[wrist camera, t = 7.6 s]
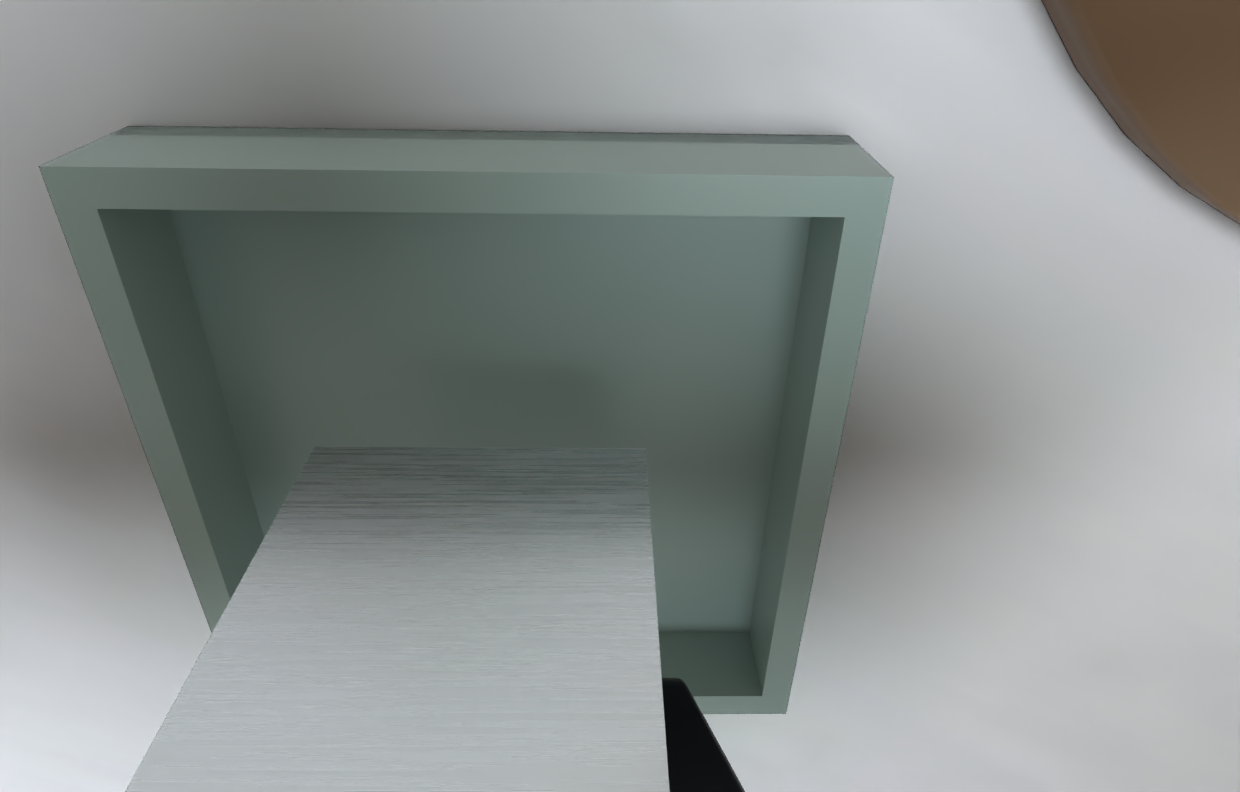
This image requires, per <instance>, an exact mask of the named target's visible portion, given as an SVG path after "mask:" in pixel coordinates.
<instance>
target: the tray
mask: <svg viewBox="0 0 1240 792" xmlns="http://www.w3.org/2000/svg"><path fill="white" fill-rule="evenodd" d="M39 168H40V171H41V174H42V176H43V179H44V182H45V185H46V187H47V190H48V193H49V195H50V198H51V201H52V203H53V206H54V209H55V212H56V214H57V217H58V220H59V222H60V225H61V228H62V230H63V233H64V236H65V239H66V241H67V244H68V247H69V249H70V252H71V255H72V257H73V260H74V263H75V265H76V268H77V271H78V274H79V276H80V279H81V282H82V284H83V287H84V290H85V292H86V295H87V298H88V301H89V303H90V306H91V309H92V311H93V314H94V317H95V319H96V322H97V325H98V328H99V330H100V333H101V336H102V338H103V341H104V344H105V346H106V349H107V352H108V355H109V357H110V360H111V363H112V365H113V368H114V371H115V373H116V376H117V379H118V382H119V384H120V387H121V390H122V392H123V395H124V398H125V400H126V403H127V406H128V409H129V411H130V414H131V417H132V419H133V422H134V425H135V427H136V430H137V433H138V435H139V438H140V441H141V444H142V446H143V449H144V452H145V454H146V457H147V460H148V462H149V465H150V468H151V471H152V473H153V476H154V479H155V481H156V484H157V487H158V489H159V492H160V495H161V498H162V500H163V503H164V506H165V508H166V511H167V514H168V516H169V519H170V522H171V525H172V527H173V530H174V533H175V535H176V538H177V541H178V543H179V546H180V549H181V552H182V554H183V557H184V560H185V562H186V565H187V568H188V570H189V573H190V576H191V579H192V581H193V584H194V587H195V589H196V592H197V595H198V597H199V600H200V603H201V605H202V608H203V611H204V614H205V616H206V619H207V622H208V624H209V627H210V630H211V632H213V630H214V629H215V627H216V625H217V623H218V621H219V619H220V618H221V616H222V614H223V612H224V610H225V609H226V607H227V605H228V603H229V601H230V599H231V598H232V596H233V594H234V592H235V590H236V588H237V587H238V585H239V583H240V581H241V579H242V578H243V576H244V574H245V572H246V570H247V568H248V567H249V565H250V563H251V561H252V559H253V557H254V556H255V554H256V552H257V550H258V548H259V547H260V545H261V543H262V541H263V539H264V537H265V536H266V534H267V532H268V530H269V528H270V526H271V525H272V523H273V521H274V519H275V517H276V516H277V514H278V512H279V510H280V508H281V506H282V505H283V503H284V501H285V499H286V497H287V495H288V494H289V492H290V490H291V488H292V486H293V485H294V483H295V481H296V479H297V477H298V475H299V474H300V472H301V470H302V468H303V466H304V465H305V463H306V461H307V459H308V457H309V455H310V454H311V452H312V450H313V448H314V447H456V448H646V462H647V476H648V490H649V505H650V519H651V533H652V547H653V562H654V576H655V590H656V605H657V619H658V633H659V647H660V662H661V676H662V678H680V679H682V680H683V681H684V682H685V684H686V685H687V687H688V688H689V690H690V692H691V694H692V696H693V697H694V699H695V701H696V703H697V705H698V707H699V708H700V710H701V712H702V714H786V711H787V706H788V701H789V696H790V691H791V686H792V681H793V676H794V671H795V666H796V661H797V656H798V651H799V646H800V641H801V636H802V631H803V626H804V621H805V616H806V611H807V606H808V601H809V596H810V591H811V586H812V582H813V577H814V572H815V567H816V562H817V557H818V552H819V547H820V542H821V537H822V532H823V527H824V522H825V517H826V512H827V507H828V502H829V497H830V492H831V487H832V482H833V477H834V472H835V467H836V462H837V457H838V452H839V447H840V442H841V437H842V432H843V427H844V422H845V417H846V412H847V407H848V402H849V397H850V392H851V387H852V383H853V378H854V373H855V368H856V363H857V358H858V353H859V348H860V343H861V338H862V333H863V328H864V323H865V318H866V313H867V308H868V303H869V298H870V293H871V288H872V283H873V278H874V273H875V268H876V263H877V258H878V253H879V248H880V243H881V238H882V233H883V228H884V223H885V218H886V213H887V208H888V203H889V198H890V193H891V188H892V184H893V179H894V177H893V176H892V175H891V174H890V173H889V172H888V171H887V170H886V169H885V168H884V167H882V166H881V165H880V164H879V163H878V162H877V161H876V160H875V159H874V158H873V157H872V156H871V155H869V154H868V153H867V152H866V151H865V150H864V149H863V148H862V147H861V146H860V145H859V144H858V143H856V142H855V141H854V140H853V139H852V138H851V137H850V136H818V135H745V134H672V133H599V132H526V131H453V130H380V129H307V128H234V127H161V126H127V127H125V128H122V129H120V130H118V131H116V132H114V133H111V134H109V135H107V136H105V137H103V138H100V139H98V140H96V141H94V142H91V143H89V144H87V145H85V146H83V147H80V148H78V149H76V150H74V151H71V152H69V153H67V154H65V155H63V156H60V157H58V158H56V159H54V160H51V161H49V162H47V163H45V164H43V165H40V166H39Z"/></svg>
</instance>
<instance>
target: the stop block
mask: <svg viewBox="0 0 1240 792" xmlns="http://www.w3.org/2000/svg"><path fill="white" fill-rule="evenodd" d="M125 792H670V790H669V776H668V762H667V747H666V733H665V719H664V705H663V690H662V676H661V662H660V647H659V633H658V619H657V605H656V590H655V576H654V562H653V547H652V533H651V519H650V505H649V490H648V476H647V462H646V448H456V447H314V448H313V450H312V452H311V454H310V455H309V457H308V459H307V461H306V463H305V465H304V466H303V468H302V470H301V472H300V474H299V475H298V477H297V479H296V481H295V483H294V485H293V486H292V488H291V490H290V492H289V494H288V495H287V497H286V499H285V501H284V503H283V505H282V506H281V508H280V510H279V512H278V514H277V516H276V517H275V519H274V521H273V523H272V525H271V526H270V528H269V530H268V532H267V534H266V536H265V537H264V539H263V541H262V543H261V545H260V547H259V548H258V550H257V552H256V554H255V556H254V557H253V559H252V561H251V563H250V565H249V567H248V568H247V570H246V572H245V574H244V576H243V578H242V579H241V581H240V583H239V585H238V587H237V588H236V590H235V592H234V594H233V596H232V598H231V599H230V601H229V603H228V605H227V607H226V609H225V610H224V612H223V614H222V616H221V618H220V619H219V621H218V623H217V625H216V627H215V629H214V630H213V632H212V634H211V636H210V638H209V639H208V641H207V643H206V645H205V647H204V649H203V650H202V652H201V654H200V656H199V658H198V660H197V661H196V663H195V665H194V667H193V669H192V670H191V672H190V674H189V676H188V678H187V680H186V681H185V683H184V685H183V687H182V689H181V691H180V692H179V694H178V696H177V698H176V700H175V701H174V703H173V705H172V707H171V709H170V711H169V712H168V714H167V716H166V718H165V720H164V722H163V723H162V725H161V727H160V729H159V731H158V732H157V734H156V736H155V738H154V740H153V742H152V743H151V745H150V747H149V749H148V751H147V753H146V754H145V756H144V758H143V760H142V762H141V763H140V765H139V767H138V769H137V771H136V773H135V774H134V776H133V778H132V780H131V782H130V783H129V785H128V787H127V789H126V791H125Z"/></svg>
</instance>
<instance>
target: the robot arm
mask: <svg viewBox="0 0 1240 792" xmlns="http://www.w3.org/2000/svg"><path fill="white" fill-rule="evenodd" d="M662 690H663V705H664V719H665V733H666V747H667V762H668V776H669V790H670V792H745V791H744V789H743V787H742V785H741V783H740V781H739V780H738V778H737V776H736V774H735V772H734V770H733V769H732V767H731V765H730V763H729V761H728V760H727V758H726V756H725V754H724V752H723V750H722V749H721V747H720V745H719V743H718V741H717V739H716V738H715V736H714V734H713V732H712V730H711V728H710V727H709V725H708V723H707V721H706V719H705V718H704V716H703V714H702V712H701V710H700V708H699V707H698V705H697V703H696V701H695V699H694V697H693V696H692V694H691V692H690V690H689V688H688V687H687V685H686V684H685V682H684V681H683V680H682V679H680V678H662Z"/></svg>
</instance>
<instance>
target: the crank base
mask: <svg viewBox="0 0 1240 792" xmlns="http://www.w3.org/2000/svg"><path fill="white" fill-rule="evenodd" d="M1042 1H1043V3H1044V5H1045V7H1046V9H1047V11H1048V13H1049V15H1050V17H1051V19H1052V21H1053V23H1054V25H1055V27H1056V29H1057V31H1058V33H1059V35H1060V37H1061V39H1062V41H1063V43H1064V45H1065V47H1066V49H1067V51H1068V53H1069V55H1070V57H1071V59H1072V61H1073V63H1074V65H1075V67H1076V69H1077V70H1078V71H1079V73H1080V74H1081V76H1082V77H1083V78H1084V80H1085V81H1086V82H1087V84H1088V85H1089V86H1090V88H1091V89H1092V90H1093V92H1094V93H1095V95H1096V96H1097V97H1098V99H1099V100H1100V101H1101V103H1102V104H1103V105H1104V107H1105V108H1106V109H1107V111H1108V112H1109V114H1110V115H1111V116H1112V118H1113V119H1114V120H1115V122H1116V123H1117V124H1118V126H1119V127H1120V128H1121V130H1122V131H1123V132H1124V134H1125V135H1126V136H1127V137H1128V138H1129V139H1130V140H1131V141H1132V142H1133V143H1134V144H1136V145H1137V146H1138V147H1139V148H1140V149H1141V150H1142V151H1143V152H1144V153H1145V154H1146V155H1147V156H1148V157H1149V158H1151V159H1152V160H1153V161H1154V162H1155V163H1156V164H1157V165H1158V166H1159V167H1160V168H1161V169H1162V170H1163V171H1164V172H1166V173H1167V174H1168V175H1169V176H1170V177H1171V178H1172V179H1173V180H1174V181H1175V182H1176V183H1177V184H1178V185H1179V186H1180V187H1182V188H1183V189H1185V190H1187V191H1188V192H1190V193H1191V194H1193V195H1195V196H1196V197H1198V198H1199V199H1201V200H1202V201H1204V202H1206V203H1207V204H1209V205H1210V206H1212V207H1213V208H1215V209H1217V210H1218V211H1220V212H1221V213H1223V214H1225V215H1226V216H1228V217H1229V218H1231V219H1232V220H1234V221H1236V222H1237V223H1239V224H1240V0H1042Z"/></svg>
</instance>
